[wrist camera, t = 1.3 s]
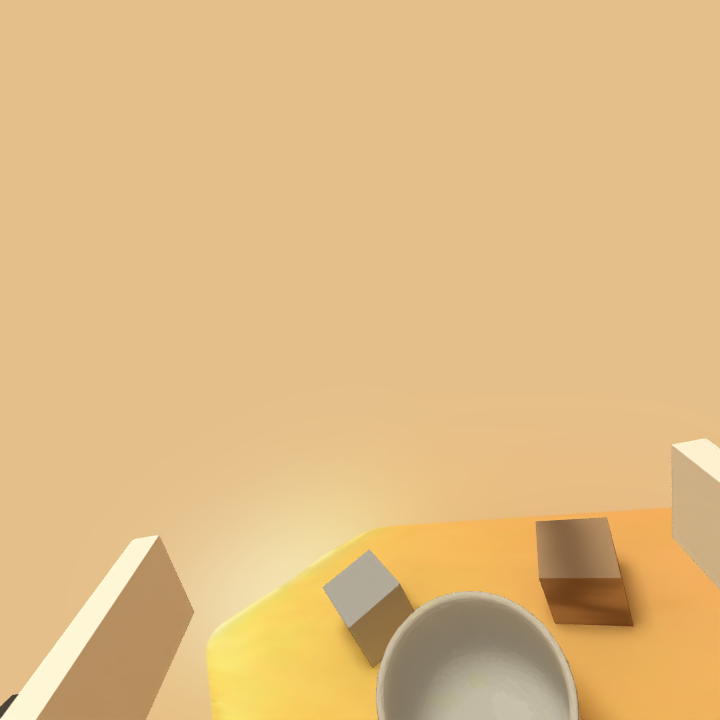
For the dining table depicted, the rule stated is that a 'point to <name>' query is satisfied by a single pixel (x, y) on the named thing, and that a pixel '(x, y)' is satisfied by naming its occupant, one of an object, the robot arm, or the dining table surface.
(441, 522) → the dining table surface
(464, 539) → the dining table surface
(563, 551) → the walnut block
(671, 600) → the dining table surface
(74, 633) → the robot arm
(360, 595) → the slate block
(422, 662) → the teacup
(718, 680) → the dining table surface
